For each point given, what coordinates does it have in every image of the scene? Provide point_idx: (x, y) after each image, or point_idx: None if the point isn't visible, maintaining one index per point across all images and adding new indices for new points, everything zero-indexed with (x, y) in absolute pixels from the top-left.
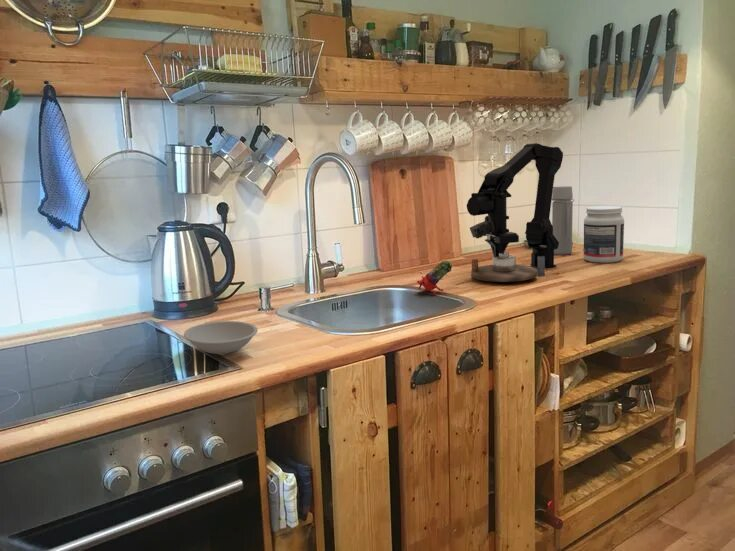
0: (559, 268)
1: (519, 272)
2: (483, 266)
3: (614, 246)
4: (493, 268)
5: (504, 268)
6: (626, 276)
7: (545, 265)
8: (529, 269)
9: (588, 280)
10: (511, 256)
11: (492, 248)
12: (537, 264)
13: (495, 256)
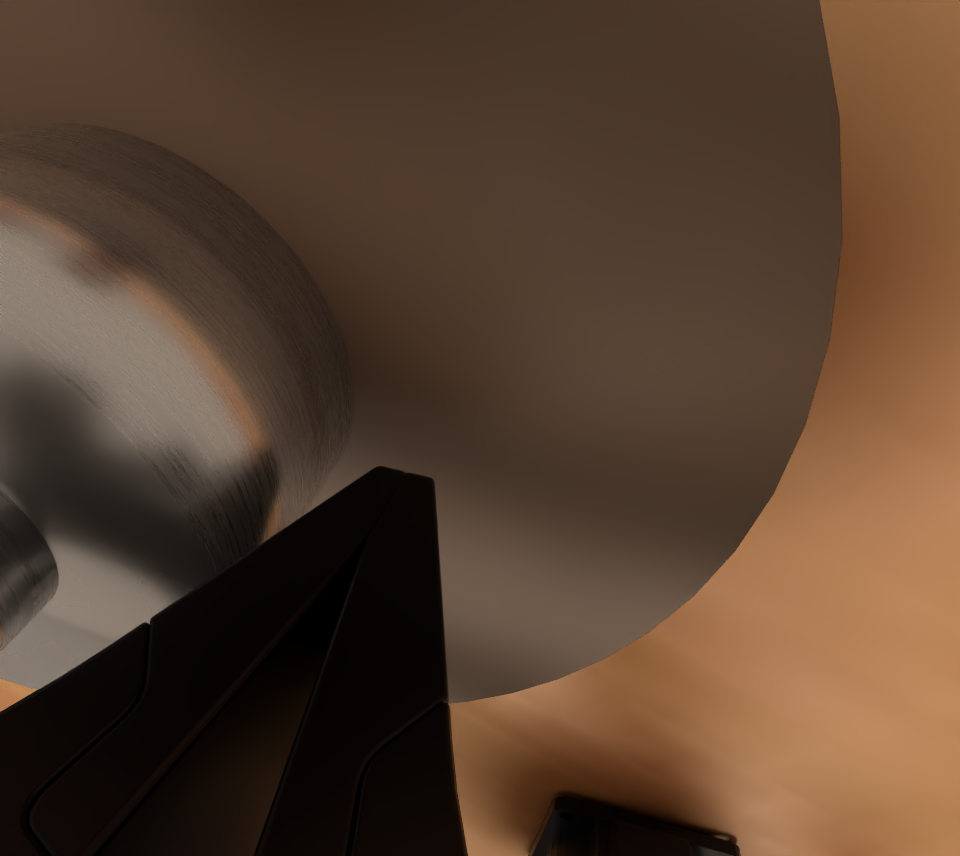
0: (476, 839)
1: None
2: (763, 280)
3: None
4: (46, 138)
5: None
6: None
7: (553, 847)
8: None
9: (20, 690)
10: (52, 671)
11: (327, 815)
12: (596, 841)
13: (148, 486)
